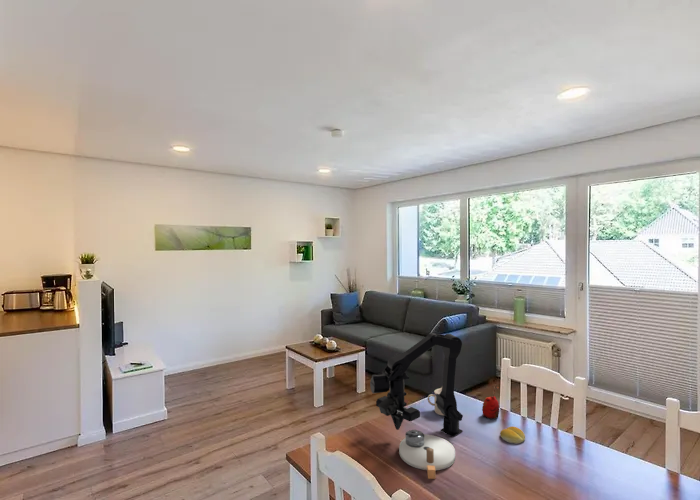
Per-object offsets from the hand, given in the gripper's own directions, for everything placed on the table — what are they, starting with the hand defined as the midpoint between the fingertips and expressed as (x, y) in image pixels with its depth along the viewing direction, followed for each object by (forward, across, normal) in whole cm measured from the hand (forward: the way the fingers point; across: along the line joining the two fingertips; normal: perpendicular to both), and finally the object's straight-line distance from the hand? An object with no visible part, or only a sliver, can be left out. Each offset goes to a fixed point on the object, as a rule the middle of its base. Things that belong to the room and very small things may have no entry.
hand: (397, 429), depth 147 cm
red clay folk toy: (+4, +14, +45) cm, 47 cm away
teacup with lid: (+4, -4, +33) cm, 33 cm away
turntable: (+4, +14, 0) cm, 15 cm away
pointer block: (+4, +23, -9) cm, 25 cm away
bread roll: (+5, +29, +35) cm, 46 cm away
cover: (+2, +9, 0) cm, 9 cm away
